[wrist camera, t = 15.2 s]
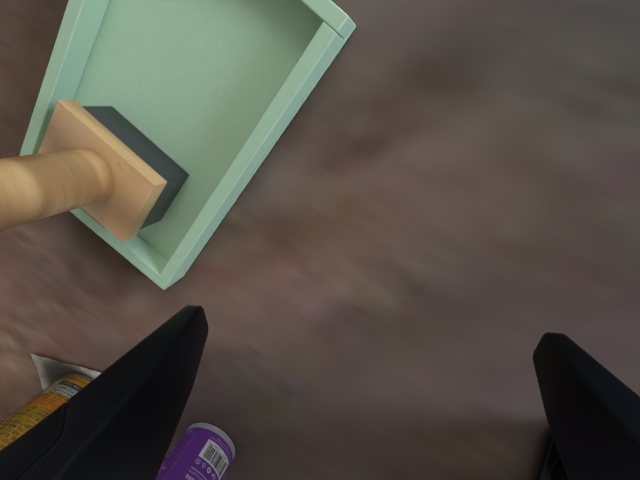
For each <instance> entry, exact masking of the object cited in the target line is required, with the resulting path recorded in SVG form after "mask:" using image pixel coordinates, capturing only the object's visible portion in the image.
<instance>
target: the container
mask: <svg viewBox="0 0 640 480" xmlns="http://www.w3.org/2000/svg"><path fill="white" fill-rule="evenodd" d="M234 457H235V447H234V444H233V442H232V440H231V439H230V437H229V436H228V435H227V434H226V433H225V432H224V431H222V430H221V429H220V428H218V427H216V426H214V425H212V424H209V423H202V422H199V423H194V424H192V425H190V426H189V427H188V429H187V430H186V431H185V432H184V434H183V435H182V437H181V438H180V439H179V441H178V442H177V443H176V445H175V446H174V448H173V449H172V450H171V452H170V453H169V454H168V456H167V457H166V459H165V460H164V461H163V463H162V465H161V468H160V470H159V473H158V475H157V478H156V480H223V479H224V477H225V475H226V473H227V471H228V469H229V467H230V465H231V463H232V461H233V459H234Z"/></svg>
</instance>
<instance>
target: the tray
mask: <svg viewBox="0 0 640 480" xmlns="http://www.w3.org/2000/svg"><path fill="white" fill-rule="evenodd" d="M355 28H356V25H355V23H354V22H353V21H352V20H351V19H350V17H349V16H348V15H347V14H346V13H345V12H344V11H343V10H342V9H340V8H339V7H338V6H337V5H336V4H335V3H334V2H333V1H331V0H69V1H68V4H67V7H66V10H65V14H64V17H63V20H62V23H61V26H60V29H59V32H58V36H57V39H56V42H55V45H54V48H53V51H52V54H51V58H50V61H49V64H48V67H47V70H46V73H45V76H44V80H43V83H42V86H41V89H40V92H39V95H38V98H37V102H36V105H35V108H34V111H33V114H32V117H31V120H30V124H29V127H28V130H27V133H26V136H25V139H24V142H23V146H22V149H21V152H20V156H23V155H31V154H38V152H39V149H40V146H41V144H42V141H43V138H44V135H45V133H46V130H47V127H48V125H49V122H50V119H51V116H52V114H53V111H54V108H55V106H56V103H57V100H75V101H76V102H77V103H78V104H80V105H81V106H112V107H114V108H115V109H116V110H117V111H118V112H119V113H120V114H121V115H123V116H124V117H125V118H126V119H127V120H128V121H129V122H131V123H132V124H133V125H134V126H135V127H136V128H137V129H138V130H140V131H141V132H142V133H143V134H144V135H145V136H146V137H147V138H149V139H150V140H151V141H152V142H153V143H154V144H155V145H157V146H158V147H159V148H160V149H161V150H162V151H163V152H164V153H166V154H167V155H168V156H169V157H170V158H171V159H172V160H173V161H175V162H176V163H177V164H178V165H179V166H180V167H181V168H183V169H184V170H185V171H186V172H187V173H188V174H189V176H188V177H187V179H186V181H185V182H184V184H183V186H182V187H181V189H180V190H179V192H178V194H177V195H176V197H175V198H174V200H173V202H172V203H171V205H170V206H169V208H168V210H167V211H166V213H165V215H164V216H163V218H162V219H161V221H159V222H156V223H154V224H152V225H150V226H147V227H145V228H143V229H140V230H139V231H138V233H137V234H136V236H135V237H134V238H132V239H130V240H128V241H125V242H123V243H122V242H120V241H119V240H118V239H117V238H116V237H115V236H113V235H112V234H111V233H110V232H109V231H108V230H107V229H105V228H104V227H103V226H102V225H101V224H100V223H98V222H97V221H96V220H95V219H94V218H93V217H92V216H90V215H89V214H88V213H87V212H86V211H85V210H83V209H82V208H81V207H80V208H76V209H73V210H70V212H71V213H72V214H74V215H75V216H76V217H77V218H78V219H80V220H81V221H82V222H83V223H84V224H86V225H87V226H88V227H89V228H90V229H91V230H93V231H94V232H95V233H96V234H97V235H99V236H100V237H101V238H102V239H103V240H105V241H106V242H107V243H108V244H109V245H110V246H112V247H113V248H114V249H115V250H116V251H118V252H119V253H120V254H121V255H122V256H124V257H125V258H126V259H127V260H128V261H130V262H131V263H132V264H133V265H134V266H135V267H137V268H138V269H139V270H140V271H141V272H143V273H144V274H145V275H146V276H147V277H149V278H150V279H151V280H152V281H153V282H154V283H156V284H157V285H158V286H159V287H160V288H162V289H163V290H165V289H166V288H168V287H169V286H171V285H172V284H173V283H175V282H176V281H178V280H179V279H180V278H182V277H183V276H184V275H185V273H186V272H187V270H188V269H189V268H190V266H191V265H192V263H193V262H194V260H195V259H196V257H197V256H198V255H199V253H200V252H201V250H202V249H203V247H204V246H205V244H206V243H207V242H208V240H209V239H210V237H211V236H212V234H213V233H214V231H215V230H216V229H217V227H218V226H219V224H220V223H221V221H222V220H223V218H224V217H225V216H226V214H227V213H228V211H229V210H230V208H231V207H232V205H233V204H234V203H235V201H236V200H237V198H238V197H239V195H240V194H241V192H242V191H243V190H244V188H245V187H246V185H247V184H248V182H249V181H250V179H251V178H252V177H253V175H254V174H255V172H256V171H257V169H258V168H259V167H260V165H261V164H262V162H263V161H264V159H265V158H266V156H267V155H268V154H269V152H270V151H271V149H272V148H273V146H274V145H275V143H276V142H277V141H278V139H279V138H280V136H281V135H282V133H283V132H284V130H285V129H286V128H287V126H288V125H289V123H290V122H291V120H292V119H293V117H294V116H295V115H296V113H297V112H298V110H299V109H300V107H301V106H302V104H303V103H304V102H305V100H306V99H307V97H308V96H309V94H310V93H311V91H312V90H313V89H314V87H315V86H316V84H317V83H318V81H319V80H320V78H321V77H322V76H323V74H324V73H325V71H326V70H327V68H328V67H329V65H330V64H331V63H332V61H333V60H334V58H335V57H336V55H337V54H338V52H339V51H340V50H341V48H342V47H343V45H344V44H345V42H346V41H347V39H348V38H349V37H350V35H351V34H352V32H353V31H354V29H355Z"/></svg>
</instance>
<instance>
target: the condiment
mask: <svg viewBox="0 0 640 480" xmlns="http://www.w3.org/2000/svg"><path fill="white" fill-rule="evenodd" d="M31 356H32V359H33V361H34V362H35V366H36V368H37V372H38V375H39V377H40V381H41V386H42V388H43V391H42V392H40V393H39V394H38V395H36V396H35V397H34V398H32V399H31V400H30V401H28V402H27V403H26V404H24V405H23V406H21V407H20V408H19V409H18V410H16V411H15V412H14V413H12V414H11V415H10V416H8V417H7V418H6V419H4V420H3V421H2V422H0V451H1V450H2V449H4V448H5V447H6V446H8V445H9V444H11V443H12V442H13V441H15V440H16V439H17V438H19V437H20V436H22V435H23V434H24V433H26V432H27V431H28V430H30V429H31V428H32V427H34V426H35V425H36V424H38V423H39V422H40V421H41V420H43V419H44V418H45V417H47V416H48V415H49V414H50V413H52V412H53V411H54V410H56V409H57V408H58V407H59V406H61V405H62V404H63V403H65V402H67V401H68V399H70V398H71V397H72V396H73V395H75V394H76V393H77V392H78V391H80V390H81V389H82V388H83V387H85V386H86V385H87V384H88V383H90V382H91V381H92V380H93V379H95V378H96V377H97V376H98V375H100V374H101V373H100V372H97V371H94V370H89V369H88V368H84V367H79V366H77V365H71V364H69V363H61V362H60V361H57V360H53V359H50V358H46V357H39V356H37V355H34V354H31Z"/></svg>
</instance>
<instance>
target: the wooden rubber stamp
mask: <svg viewBox="0 0 640 480" xmlns="http://www.w3.org/2000/svg"><path fill="white" fill-rule="evenodd" d="M188 176H189V174H188V173H187V172H186V171H185V170H184V169H183V168H181V167H180V166H179V165H178V164H177V163H176V162H175V161H173V160H172V159H171V158H170V157H169V156H168V155H167V154H166V153H164V152H163V151H162V150H161V149H160V148H159V147H158V146H157V145H155V144H154V143H153V142H152V141H151V140H150V139H149V138H147V137H146V136H145V135H144V134H143V133H142V132H141V131H140V130H138V129H137V128H136V127H135V126H134V125H133V124H132V123H131V122H129V121H128V120H127V119H126V118H125V117H124V116H123V115H121V114H120V113H119V112H118V111H117V110H116V109H115V108H114V107H112V106H81V105H80V104H78V103H77V102H76V101H75V100H57V103H56V106H55V108H54V111H53V114H52V116H51V119H50V122H49V125H48V127H47V130H46V133H45V135H44V138H43V141H42V144H41V146H40V149H39V152H38V154H31V155H23V156H15V157H6V158H0V231H2V230H5V229H9V228H12V227H15V226H19V225H22V224H26V223H29V222H32V221H36V220H39V219H43V218H46V217H49V216H53V215H56V214H60V213H63V212H66V211H70V210H73V209H76V208H80V207H81V208H82V209H83V210H85V211H86V212H87V213H88V214H89V215H90V216H92V217H93V218H94V219H95V220H96V221H97V222H98V223H100V224H101V225H102V226H103V227H104V228H105V229H107V230H108V231H109V232H110V233H111V234H112V235H113V236H115V237H116V238H117V239H118V240H119V241H120V242H122V243H123V242H125V241H128V240H130V239H132V238H134V237H135V236H136V234H137V233H138V231H139V230H140V229H143V228H145V227H147V226H150V225H152V224H154V223H156V222H159V221H161V219H162V218H163V216H164V215H165V213H166V211H167V210H168V208H169V206H170V205H171V203H172V202H173V200H174V198H175V197H176V195H177V194H178V192H179V190H180V189H181V187H182V186H183V184H184V182H185V181H186V179H187V177H188Z"/></svg>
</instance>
